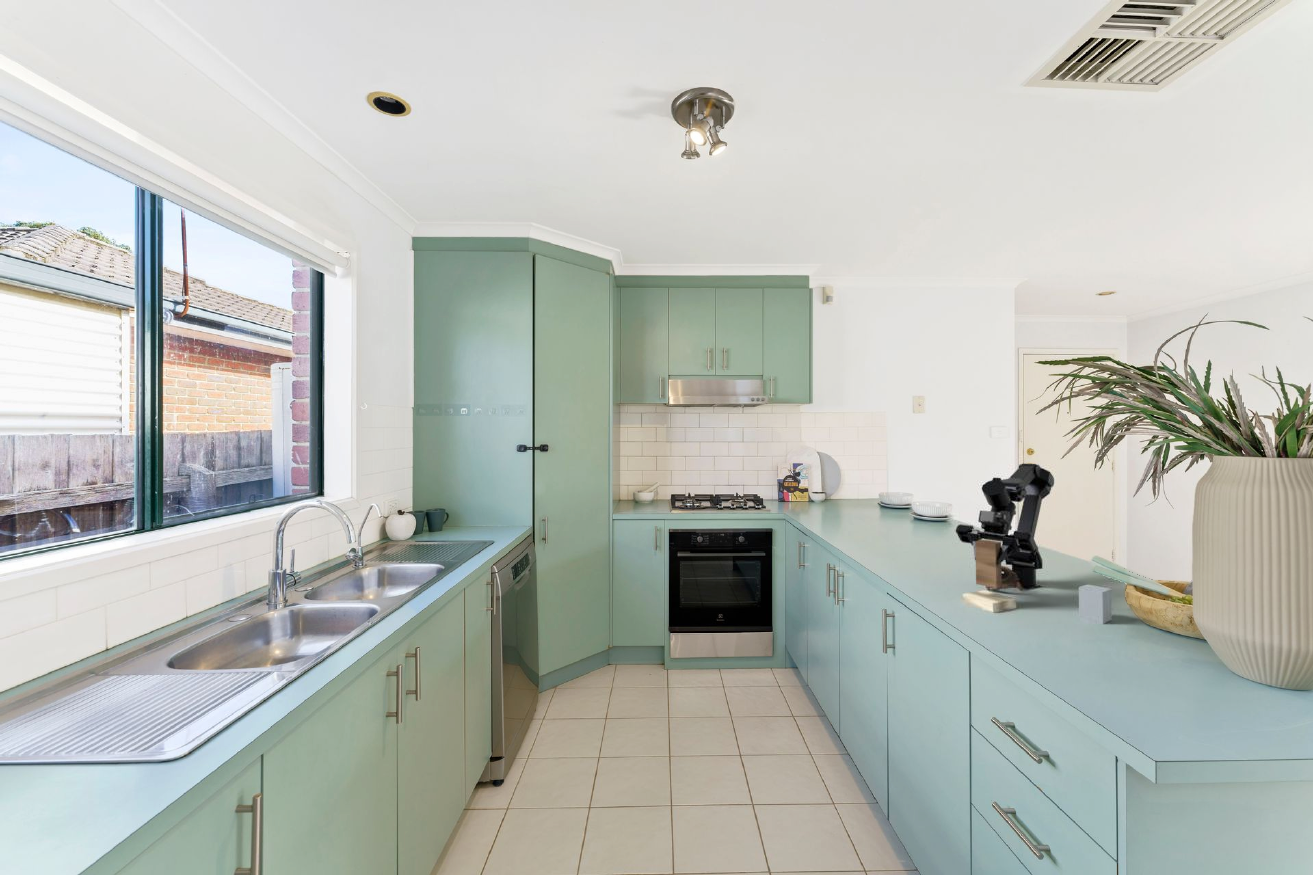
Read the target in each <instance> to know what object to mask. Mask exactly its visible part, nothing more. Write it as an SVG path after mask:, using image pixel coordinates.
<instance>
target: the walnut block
mask: <svg viewBox="0 0 1313 875" xmlns="http://www.w3.org/2000/svg"><path fill="white" fill-rule="evenodd" d="M1001 547H1002V542H1001V541H993V540H986V539H981V540H978V541H976V542H975V548H976V561H975V584H976V585H979V586H984V587H986V586H988V587H994V588H993V589H998V588H997V587H999V586H1001V585H1002V576H1001V573H1002V572H1001V566H1002V562H1001V563H1000V564H999V565H997V563H996V561H997V557H998V554H999V552H1000V549H1001Z"/></svg>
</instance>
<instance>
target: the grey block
mask: <svg viewBox="0 0 1313 875" xmlns="http://www.w3.org/2000/svg"><path fill="white" fill-rule="evenodd" d="M1112 609H1113V608H1112V589H1111V588H1108V587H1102V586H1098V585H1094V584H1093V585H1092V584H1085V585H1081V586H1079V587H1078V618H1079V619H1081V620H1085V621H1088V622H1092V621H1093V623H1096V624H1100V623H1102V624H1101V625H1104V624H1106V622H1107V621H1109V622H1110V620H1111V619H1112V620H1113V616H1112V615H1113V614H1112V611H1113V610H1112ZM1112 620H1111V621H1112ZM1103 623H1104V624H1103ZM1107 623H1108V622H1107Z"/></svg>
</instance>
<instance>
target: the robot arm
mask: <svg viewBox="0 0 1313 875" xmlns="http://www.w3.org/2000/svg"><path fill="white" fill-rule="evenodd" d="M1054 485H1055V477H1054V475H1053V473H1051V471H1049V470H1047V469H1045V468H1043V467H1041V466H1040V464H1036V463H1021V464H1019V465H1018V468H1017V469H1016V470H1015V471H1014V472H1013V473H1012V474H1011V476H1010V477H1008V478H1005V479H1002V478H1001V477H993V478H992V479H991V480H988V481H987V482H985V483H984V484H982V486H981V491H982V493H983V495H984V497H985V500H986V503H987V504H988V505H989V506H991V508H990V510H979V514H978V523H980V524H981V525H980V527H981V529H982V530H980V529H977V528H975V527H974V526H973V525H968V524H961V523H960V524H958V525H957V526H956V527H955V533H956V534H957V537H958V538H959V540H960V541H961V543H965V544H971V546H973V555H974V560H975V562H976V548H975V542H976V541H978V540H981V539H982V540H989V541H997V542H1001V549H1000V552H999V554H998V557H997V561H996V563H997V565H999V564H1000V563H1001V564H1002V563H1003V562H1004V561H1005V566H1006V565H1007V566H1011V570H1012V571H1013V572H1014V573H1016V574H1017V576H1018V578H1019V580H1018V582H1019V583H1020V584H1021V586H1022V589H1024V590H1025V589H1026V590H1029V589H1030V590H1031V589H1036V588H1041V587H1042V585H1041V584H1040V583H1039V584H1038V583H1037V570H1042V569H1043V568H1044V567H1043V559H1042V556H1041V553H1040V551H1039V547H1038V545H1037V543H1036V541H1035V535H1036V532H1037V531H1036V530H1037V526H1038V521H1039V515H1040V512H1041V507H1042V502H1043V499H1045V498H1046V497H1047V496H1049V495H1050V494H1051V491H1052V488H1053V487H1054ZM1022 501H1023V502H1022ZM1016 502H1017V503H1021V502H1022V507H1021V511H1020V516H1019V520H1018V525H1017V528H1016V530H1015V531H1013V534H1009V533H1010V531H1011V530H1012V528H1013V527H1012V523H1013V519H1014V516H1016V514H1017V511H1016V510H1017V506H1016Z"/></svg>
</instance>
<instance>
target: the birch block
mask: <svg viewBox="0 0 1313 875" xmlns="http://www.w3.org/2000/svg"><path fill="white" fill-rule="evenodd" d="M962 603H963V604H964V605H967V604H968V606H971V607H973V606H974V608H976V607H977V608H976V609H979V608H981V609H980V610H984V611H986V610H987V611H986V612H989V611H990V612H989V613H992V614H994V613H995V614H996V613H998V612H999V611H1000V612H1004V611H1003V610H1005V611H1009V610H1014V608H1015V609H1017V598H1015V597H1012V596H1011V597H1010V596H1007V595H1004V594H1000V593H998V592H994V591H990V590H987V589H984V590H978V591H972V592H971V591H970V592H966V593H962Z"/></svg>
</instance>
